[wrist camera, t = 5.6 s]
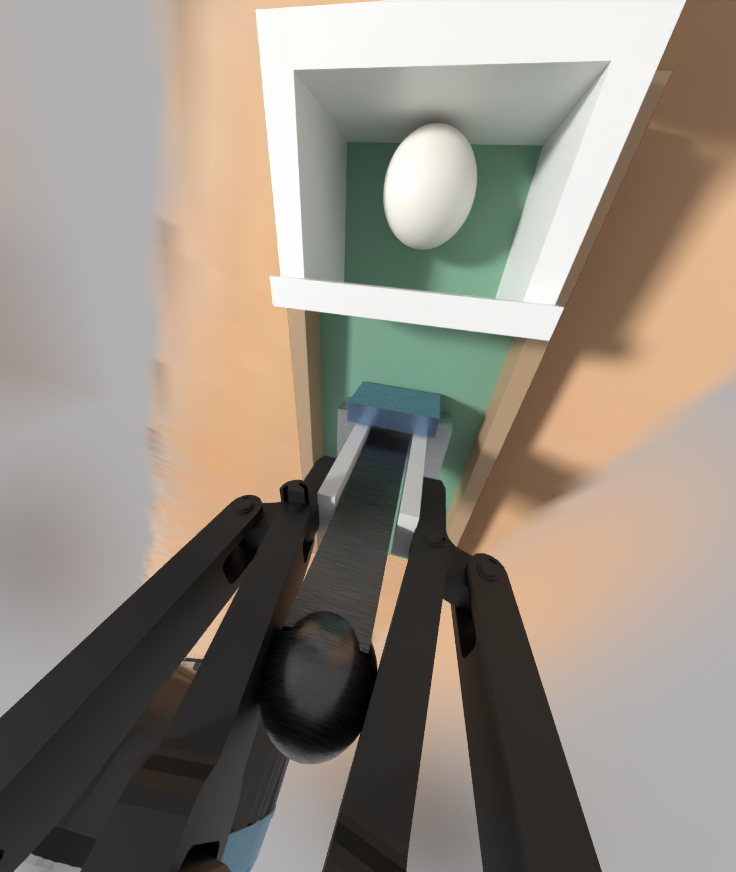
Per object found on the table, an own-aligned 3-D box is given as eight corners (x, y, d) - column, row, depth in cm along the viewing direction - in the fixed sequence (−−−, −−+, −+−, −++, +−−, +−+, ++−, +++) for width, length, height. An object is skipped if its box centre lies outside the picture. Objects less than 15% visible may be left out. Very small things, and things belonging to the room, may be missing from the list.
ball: (460, 267, 10) (494, 128, 8) (373, 259, 11) (374, 128, 8) (463, 236, 12) (491, 118, 10) (390, 231, 13) (395, 118, 10)
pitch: (438, 558, 27) (438, 587, 24) (320, 527, 29) (308, 551, 26) (616, 119, 10) (672, 69, 8) (302, 118, 12) (266, 79, 10)
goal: (510, 315, 13) (549, 340, 9) (327, 294, 15) (272, 305, 10) (585, 105, 9) (731, -63, 5) (325, 107, 11) (235, -18, 6)
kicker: (437, 462, 19) (428, 824, 7) (345, 443, 20) (189, 723, 8) (456, 397, 16) (504, 827, 4) (347, 379, 17) (101, 663, 5)
